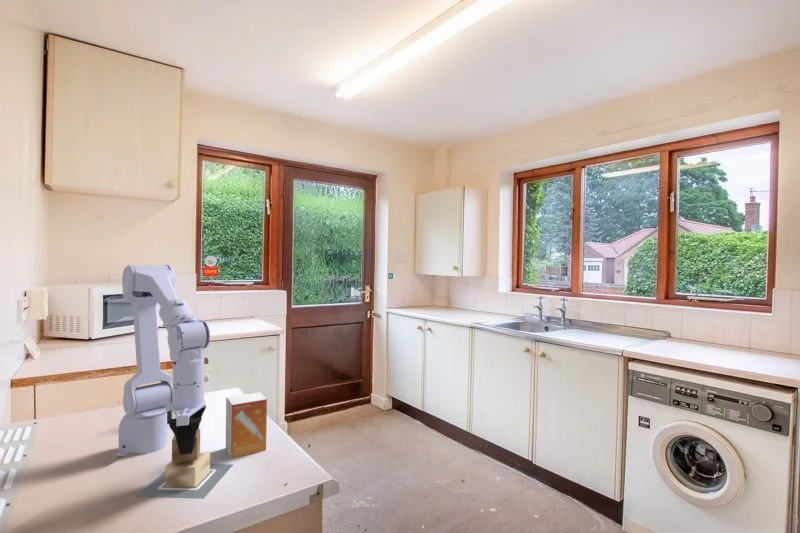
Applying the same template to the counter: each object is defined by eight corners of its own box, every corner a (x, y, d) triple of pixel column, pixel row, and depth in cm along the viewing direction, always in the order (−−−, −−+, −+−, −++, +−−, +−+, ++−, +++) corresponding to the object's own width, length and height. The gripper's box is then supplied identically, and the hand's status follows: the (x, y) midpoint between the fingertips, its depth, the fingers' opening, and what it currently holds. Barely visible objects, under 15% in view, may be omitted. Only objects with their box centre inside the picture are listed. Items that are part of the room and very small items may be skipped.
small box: (230, 462, 94) (231, 404, 94) (225, 451, 99) (225, 396, 99) (267, 453, 98) (267, 398, 98) (259, 443, 103) (260, 391, 103)
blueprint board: (135, 500, 78) (135, 495, 78) (175, 466, 91) (175, 462, 91) (203, 502, 78) (203, 497, 78) (233, 468, 91) (233, 463, 91)
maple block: (165, 486, 82) (165, 466, 82) (181, 471, 88) (181, 452, 88) (195, 487, 82) (195, 467, 82) (209, 472, 88) (210, 453, 88)
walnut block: (171, 463, 82) (171, 440, 82) (176, 453, 86) (176, 431, 86) (197, 459, 83) (197, 437, 83) (200, 450, 87) (200, 428, 87)
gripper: (173, 373, 90) (173, 436, 90) (158, 394, 76) (157, 467, 76) (209, 371, 92) (208, 432, 92) (200, 390, 79) (200, 462, 79)
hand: (188, 448), depth 85 cm, fingers closed on walnut block, 4 cm apart
